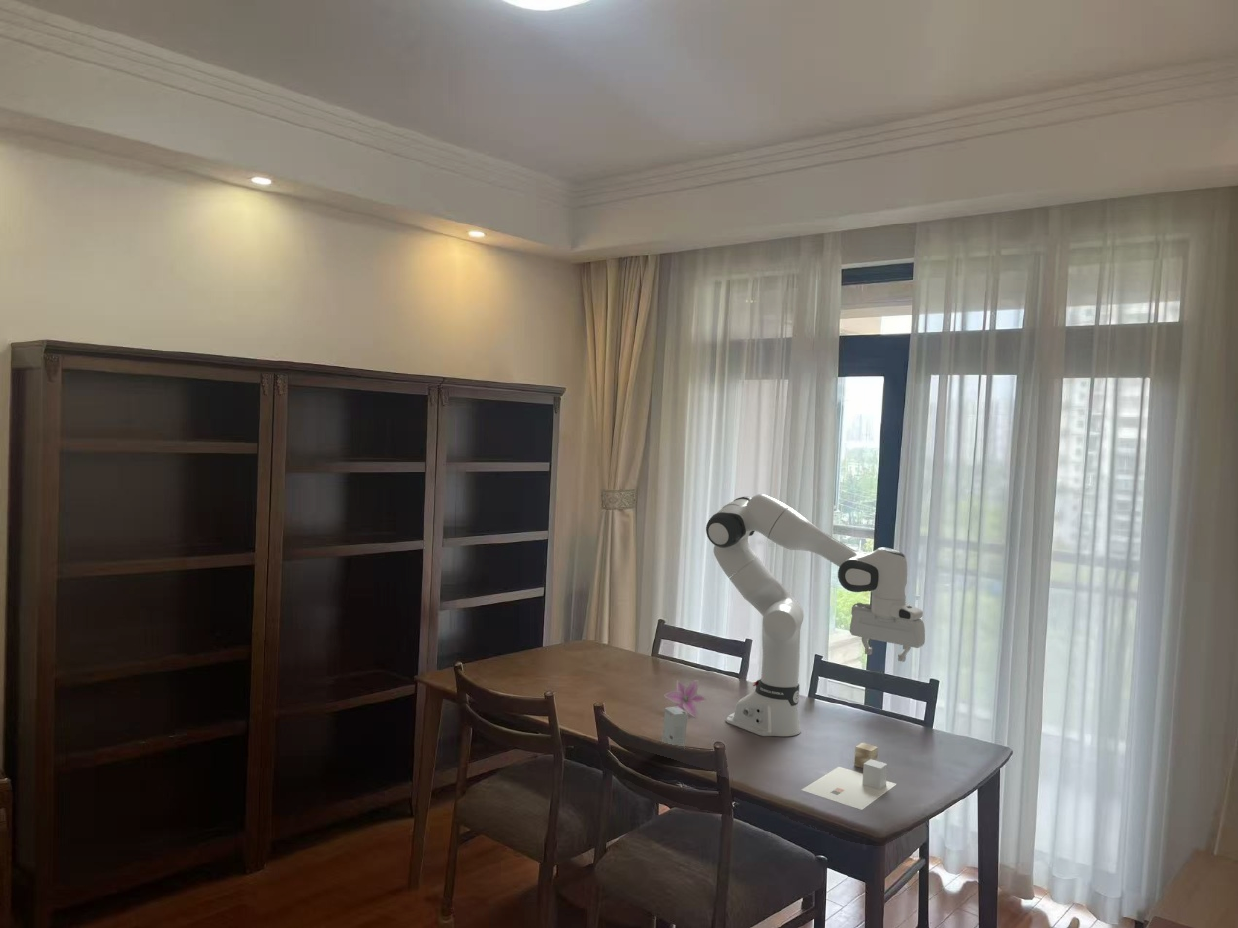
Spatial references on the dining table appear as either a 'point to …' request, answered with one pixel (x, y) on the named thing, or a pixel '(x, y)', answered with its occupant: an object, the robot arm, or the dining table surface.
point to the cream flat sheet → (846, 788)
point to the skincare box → (674, 726)
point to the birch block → (865, 754)
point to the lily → (686, 697)
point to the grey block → (874, 774)
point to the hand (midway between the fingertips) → (884, 657)
